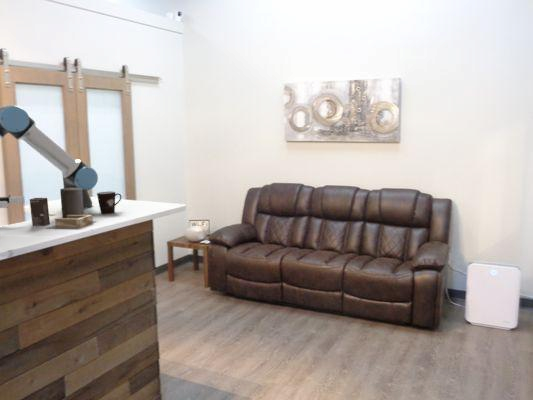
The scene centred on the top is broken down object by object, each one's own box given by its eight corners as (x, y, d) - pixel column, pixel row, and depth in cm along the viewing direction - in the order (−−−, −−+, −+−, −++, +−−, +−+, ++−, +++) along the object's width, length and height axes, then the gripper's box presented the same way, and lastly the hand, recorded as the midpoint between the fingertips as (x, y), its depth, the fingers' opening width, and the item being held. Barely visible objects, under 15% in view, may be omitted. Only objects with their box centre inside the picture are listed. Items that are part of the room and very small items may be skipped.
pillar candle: (61, 220, 230) (58, 187, 228) (63, 216, 240) (61, 185, 237) (83, 218, 233) (81, 186, 231) (85, 215, 242) (82, 184, 240)
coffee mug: (99, 215, 240) (97, 194, 239) (98, 212, 248) (96, 192, 247) (124, 212, 245) (122, 192, 243) (122, 210, 252) (120, 190, 251)
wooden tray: (69, 222, 221) (68, 214, 221) (93, 222, 219) (92, 214, 218) (55, 227, 212) (54, 219, 211) (80, 227, 209) (79, 219, 209)
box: (31, 226, 217) (28, 199, 215) (38, 224, 221) (35, 197, 220) (44, 226, 216) (41, 199, 214) (50, 224, 221) (47, 197, 219)
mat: (67, 222, 225) (67, 221, 225) (97, 222, 222) (97, 221, 222) (44, 229, 209) (44, 228, 209) (76, 230, 206) (76, 229, 206)
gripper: (-15, 206, 231) (30, 206, 230) (-51, 216, 206) (0, 215, 206) (-16, 190, 230) (29, 189, 229) (-53, 198, 205) (-2, 197, 204)
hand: (15, 202), depth 217 cm, fingers open, 13 cm apart
